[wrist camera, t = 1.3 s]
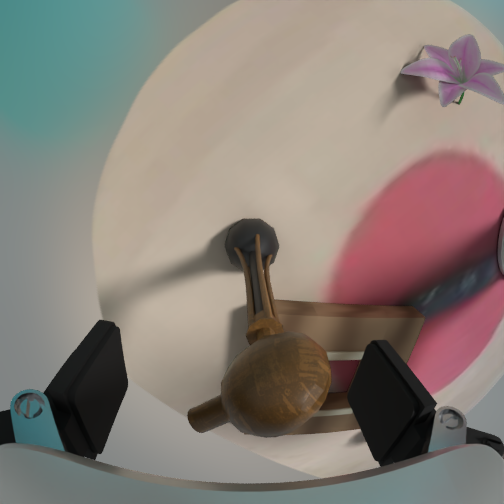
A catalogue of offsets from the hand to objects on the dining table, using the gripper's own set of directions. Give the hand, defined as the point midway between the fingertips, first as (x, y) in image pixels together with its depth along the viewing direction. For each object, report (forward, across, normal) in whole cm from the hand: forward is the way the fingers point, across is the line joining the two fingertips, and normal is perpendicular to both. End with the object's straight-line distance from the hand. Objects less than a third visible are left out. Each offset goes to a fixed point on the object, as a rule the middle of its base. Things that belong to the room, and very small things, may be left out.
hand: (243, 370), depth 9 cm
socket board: (+17, -12, +14) cm, 25 cm away
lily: (+17, -20, -22) cm, 34 cm away
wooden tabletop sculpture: (+17, -1, 0) cm, 17 cm away
